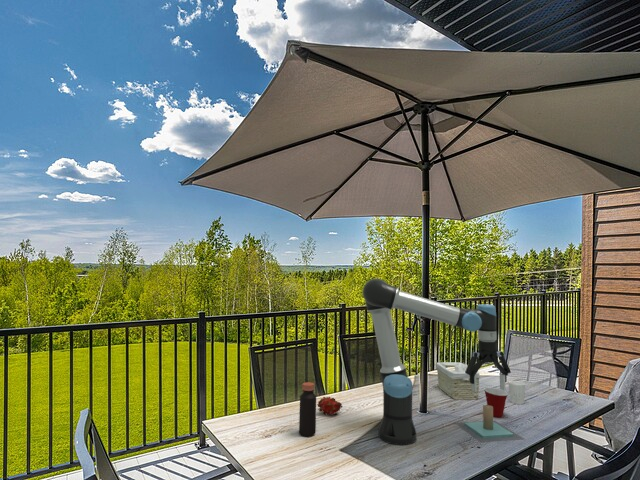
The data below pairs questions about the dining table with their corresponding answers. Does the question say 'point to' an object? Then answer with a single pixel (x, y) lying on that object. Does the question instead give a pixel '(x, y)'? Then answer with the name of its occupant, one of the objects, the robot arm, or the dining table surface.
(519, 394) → the white cup
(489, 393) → the plastic cup
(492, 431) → the lid
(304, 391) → the bottle
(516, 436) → the mat
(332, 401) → the dragon fruit
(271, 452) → the dining table surface
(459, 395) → the storage basket
